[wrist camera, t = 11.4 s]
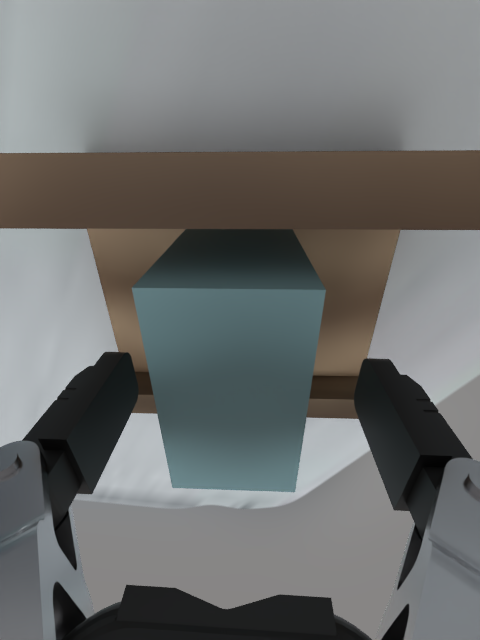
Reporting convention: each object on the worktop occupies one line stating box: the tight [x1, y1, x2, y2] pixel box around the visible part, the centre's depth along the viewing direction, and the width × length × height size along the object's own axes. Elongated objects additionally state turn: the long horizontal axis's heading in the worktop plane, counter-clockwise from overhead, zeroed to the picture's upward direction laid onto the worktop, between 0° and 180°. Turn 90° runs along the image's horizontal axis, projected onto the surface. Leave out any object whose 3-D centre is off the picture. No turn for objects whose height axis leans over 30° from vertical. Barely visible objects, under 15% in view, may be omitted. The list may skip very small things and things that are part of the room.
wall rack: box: [0, 150, 480, 419], centre depth 13 cm, size 14×15×9 cm
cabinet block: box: [132, 229, 326, 492], centre depth 12 cm, size 8×4×8 cm, turn 0°
